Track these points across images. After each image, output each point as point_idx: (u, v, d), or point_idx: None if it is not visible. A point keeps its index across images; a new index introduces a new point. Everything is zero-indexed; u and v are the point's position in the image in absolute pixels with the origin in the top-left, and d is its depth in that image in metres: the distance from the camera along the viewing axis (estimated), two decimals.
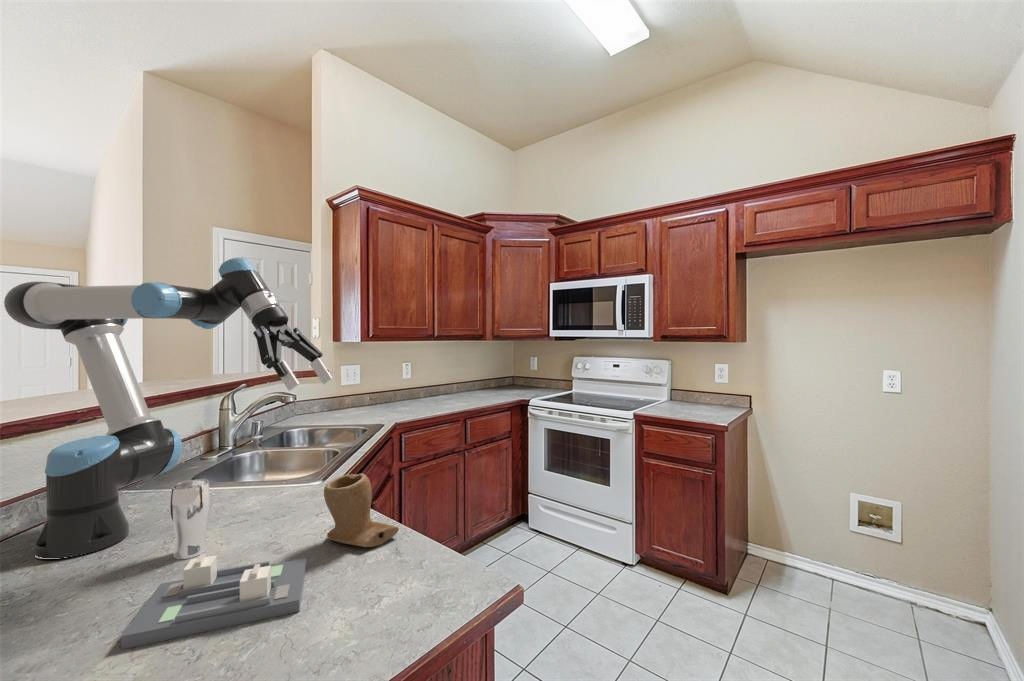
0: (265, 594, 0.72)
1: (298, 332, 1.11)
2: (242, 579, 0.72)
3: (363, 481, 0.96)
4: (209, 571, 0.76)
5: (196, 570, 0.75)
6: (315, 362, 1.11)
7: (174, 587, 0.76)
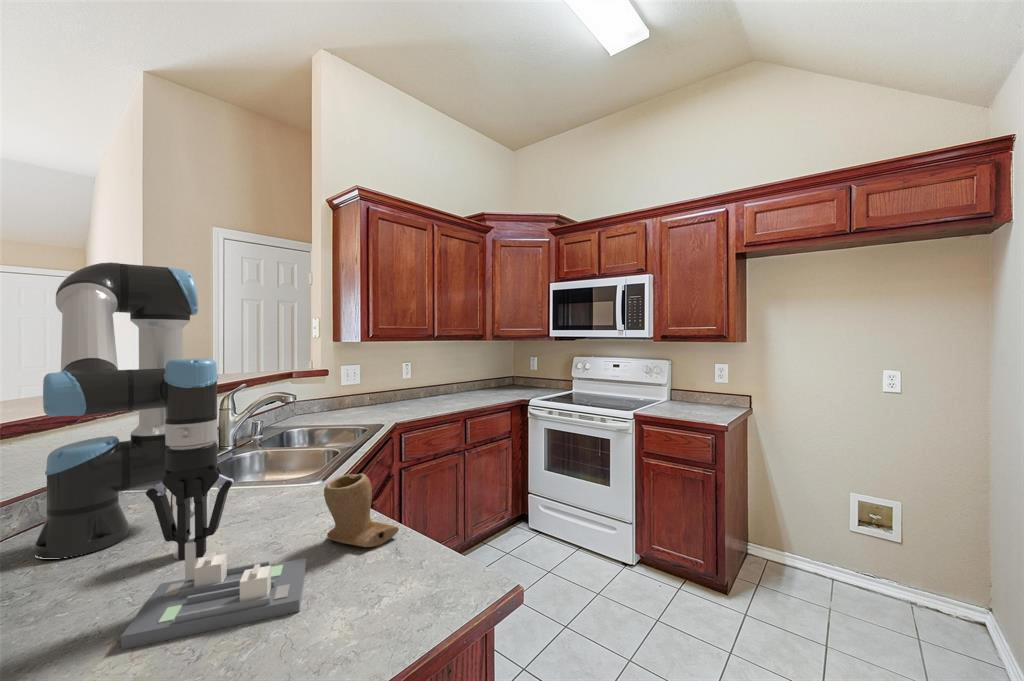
0: (265, 594, 0.72)
1: (221, 488, 0.77)
2: (242, 579, 0.72)
3: (363, 481, 0.96)
4: (219, 569, 0.77)
5: (206, 569, 0.76)
6: None
7: (174, 587, 0.76)
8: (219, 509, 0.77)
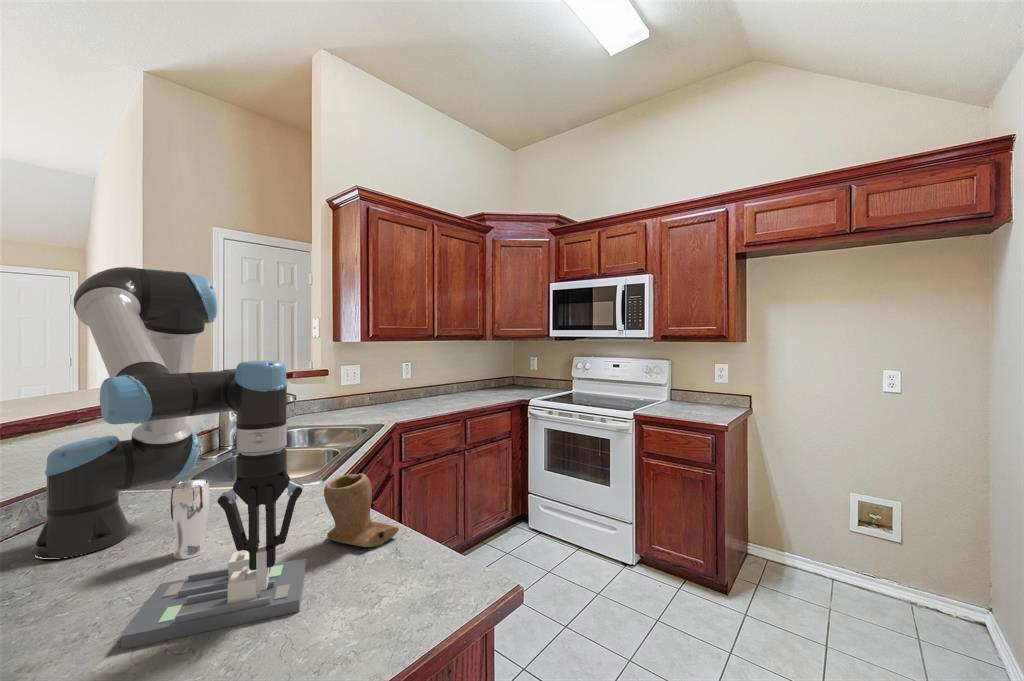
0: (253, 596, 0.72)
1: (292, 495, 0.75)
2: (230, 581, 0.71)
3: (363, 481, 0.96)
4: None
5: (240, 563, 0.78)
6: None
7: (174, 587, 0.76)
8: (290, 517, 0.74)
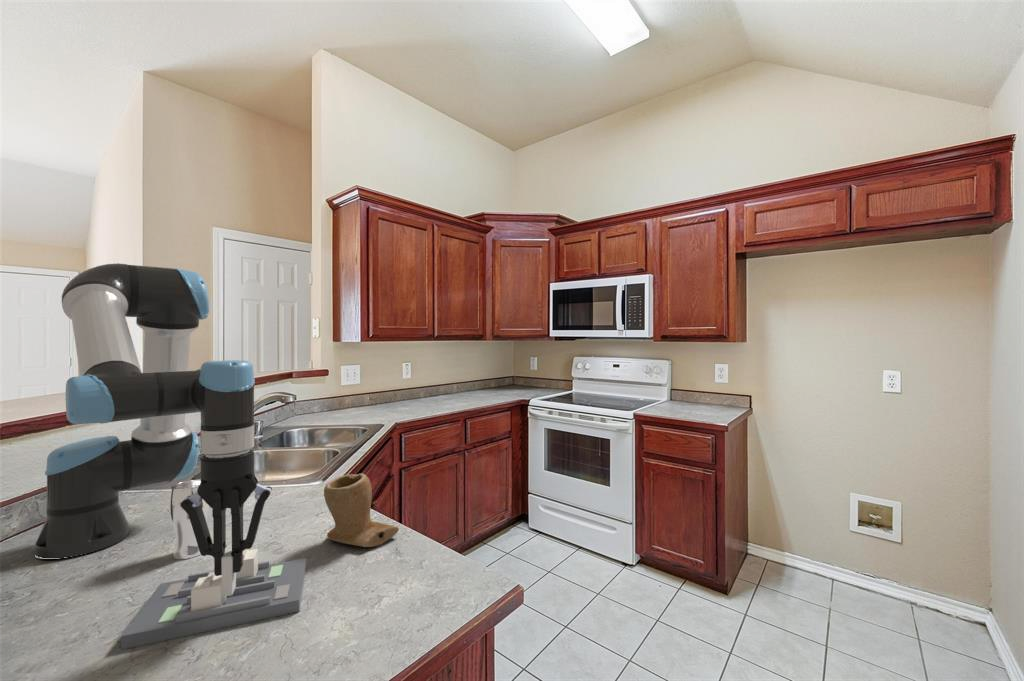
0: (218, 603, 0.70)
1: (259, 498, 0.73)
2: (194, 588, 0.69)
3: (363, 481, 0.96)
4: (252, 564, 0.78)
5: None
6: None
7: (174, 587, 0.76)
8: (257, 521, 0.72)
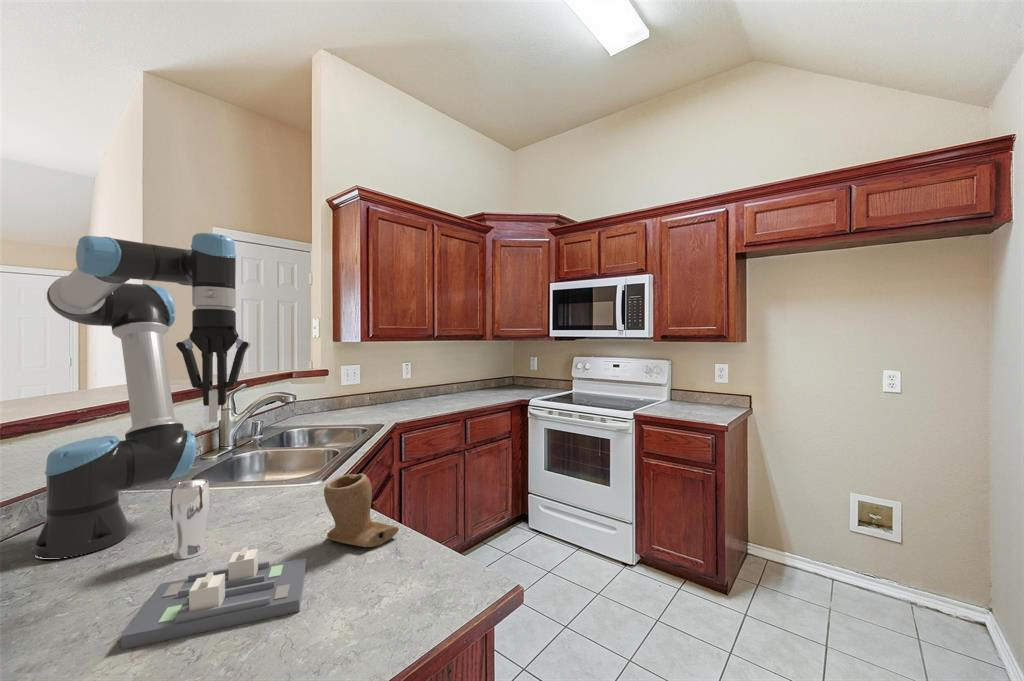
0: (216, 604, 0.70)
1: (239, 347, 0.90)
2: (192, 588, 0.69)
3: (363, 481, 0.96)
4: (252, 564, 0.78)
5: (240, 563, 0.78)
6: None
7: (174, 587, 0.76)
8: (237, 365, 0.90)
